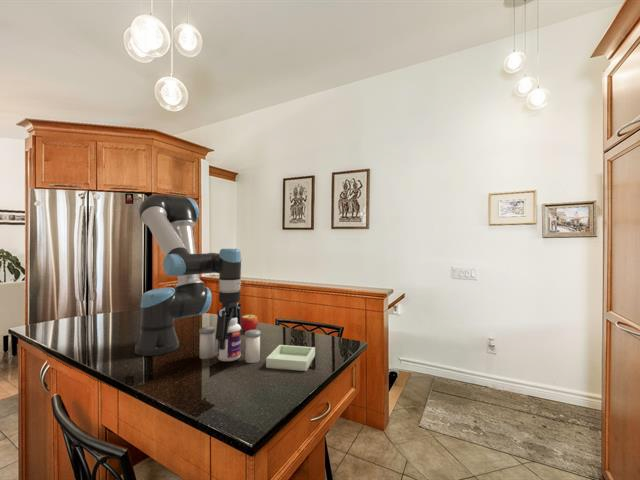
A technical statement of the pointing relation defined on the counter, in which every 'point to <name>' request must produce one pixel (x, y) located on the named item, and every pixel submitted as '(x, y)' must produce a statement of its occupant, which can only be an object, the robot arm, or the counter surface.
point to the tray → (291, 357)
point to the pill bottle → (233, 341)
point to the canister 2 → (252, 346)
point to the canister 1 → (206, 342)
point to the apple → (249, 322)
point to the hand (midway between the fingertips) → (229, 353)
